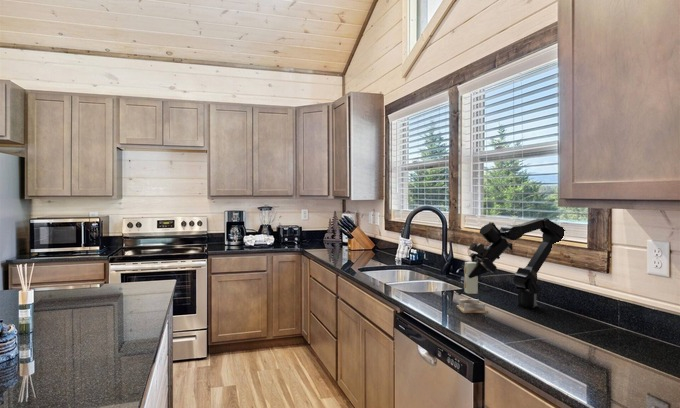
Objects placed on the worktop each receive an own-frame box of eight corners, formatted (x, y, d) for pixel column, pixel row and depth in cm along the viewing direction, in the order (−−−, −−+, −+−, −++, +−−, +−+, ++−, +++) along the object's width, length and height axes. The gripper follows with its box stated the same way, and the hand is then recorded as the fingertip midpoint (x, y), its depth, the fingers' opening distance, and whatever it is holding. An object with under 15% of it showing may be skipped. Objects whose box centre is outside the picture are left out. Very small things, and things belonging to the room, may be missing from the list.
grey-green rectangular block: (474, 291, 181) (475, 262, 181) (477, 293, 178) (478, 263, 177) (462, 291, 181) (463, 261, 181) (465, 293, 178) (465, 263, 177)
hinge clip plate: (480, 306, 182) (480, 299, 182) (487, 312, 173) (488, 304, 173) (456, 306, 182) (456, 299, 182) (462, 312, 173) (463, 304, 173)
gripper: (474, 234, 188) (448, 259, 188) (489, 238, 170) (460, 266, 170) (492, 252, 188) (466, 277, 189) (508, 258, 170) (480, 286, 170)
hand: (467, 276), depth 179 cm, fingers closed on grey-green rectangular block, 4 cm apart
